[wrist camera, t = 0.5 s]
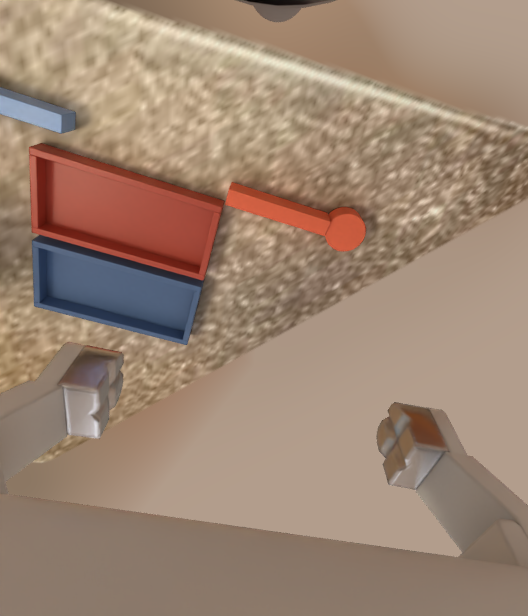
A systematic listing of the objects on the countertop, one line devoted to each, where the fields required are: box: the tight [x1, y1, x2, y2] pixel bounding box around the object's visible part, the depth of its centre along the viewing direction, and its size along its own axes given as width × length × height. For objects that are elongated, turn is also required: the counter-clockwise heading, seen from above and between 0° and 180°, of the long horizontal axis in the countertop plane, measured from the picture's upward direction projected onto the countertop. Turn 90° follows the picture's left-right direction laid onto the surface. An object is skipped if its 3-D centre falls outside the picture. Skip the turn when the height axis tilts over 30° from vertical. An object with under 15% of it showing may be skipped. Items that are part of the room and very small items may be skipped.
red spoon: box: [225, 182, 366, 251], centre depth 33 cm, size 13×4×2 cm, turn 73°
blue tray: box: [32, 235, 204, 345], centre depth 38 cm, size 8×16×2 cm, turn 73°
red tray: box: [29, 143, 224, 280], centre depth 34 cm, size 8×16×2 cm, turn 72°
